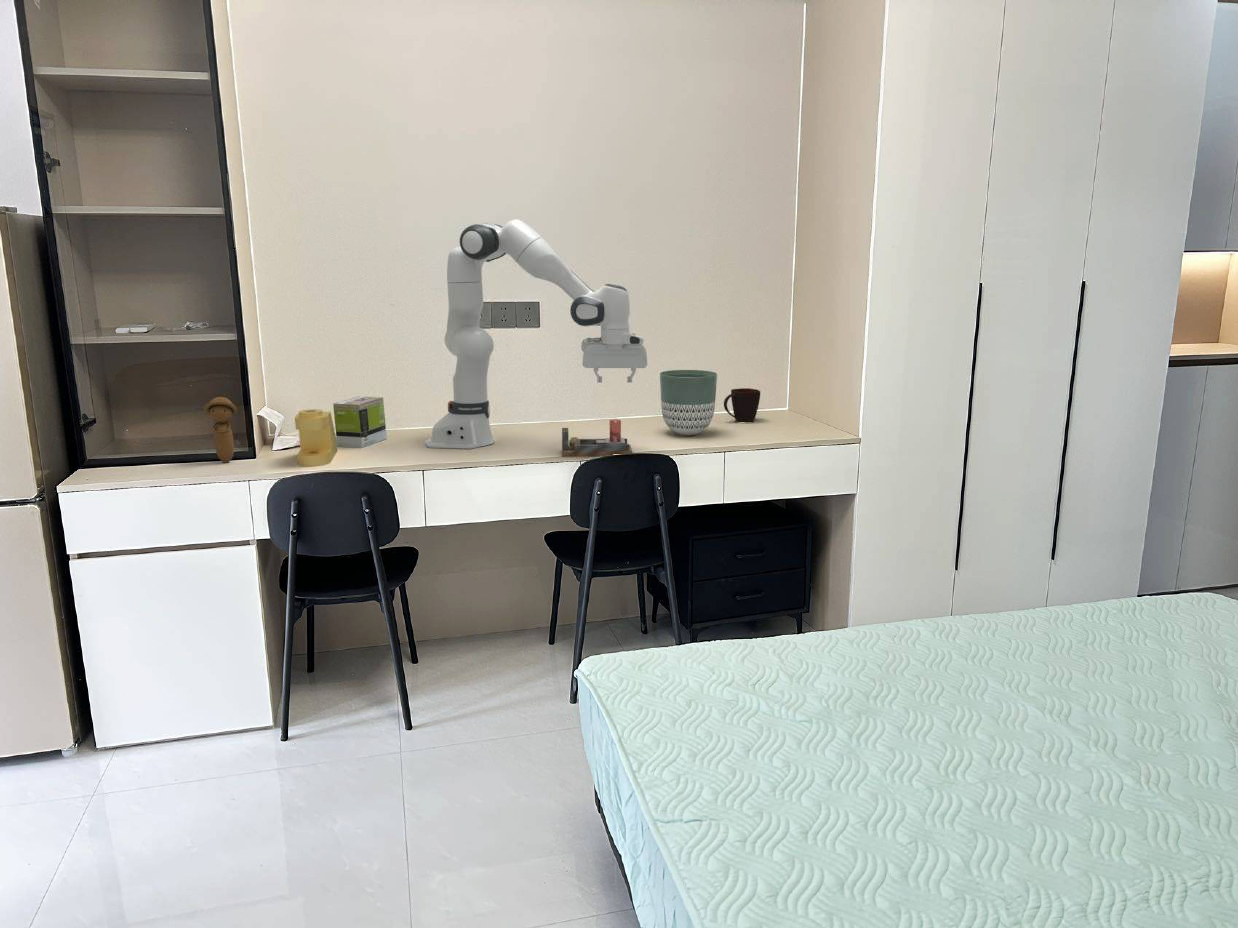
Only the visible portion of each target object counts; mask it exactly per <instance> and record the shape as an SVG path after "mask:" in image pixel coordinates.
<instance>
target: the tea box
mask: <svg viewBox="0 0 1238 928" xmlns="http://www.w3.org/2000/svg"><path fill="white" fill-rule="evenodd" d="M384 403H385V402H384V397H382V396H381V397H379V396H378V397H377V396H356V397H352V398H348V399H344V400H342V401H337V402H335V403H333V405H332V406H333V407H332V408H333V416H334V417H333V419H334V425H335V426H334V430H335V436H336V441H337V447H343V448H345V447H346V448H358V449H362V448H365V447H368V446H371V445H373V444H374V445H375V444H376V443H379V442H381V441H383V440H387V427H386V426H387V425H386V415H385V404H384Z"/></svg>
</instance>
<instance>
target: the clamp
mask: <svg viewBox="0 0 1238 928" xmlns="http://www.w3.org/2000/svg"><path fill="white" fill-rule="evenodd" d="M294 424H295V425H294V427H295V430H298V433H299V434H298V436H299V449H300V450H299V451H298V452H297V459H298V461H297V462H298V465H299V466H300V467H313V468H315V467H322V466H326V465H329V464H331V462H332V461H333V460H334V457H335V456H336V454H337V453H338V446H337V440H336V430H335V426H334V423H333V418H332V412H331V411H330V410H329V411H323V409H317V408H316V409H315V408H313V409H312V408H311V409H302V410H299V411H298V413H297V414H296V415H295V416H294Z"/></svg>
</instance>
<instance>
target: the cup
mask: <svg viewBox="0 0 1238 928" xmlns="http://www.w3.org/2000/svg"><path fill="white" fill-rule="evenodd" d="M730 399H731V405H732V411H733V414H732V413H731V411H730V410H729V407H728V402H729V400H730ZM760 401H761V390H760V389H756V388H755V389H754V388H750V387H748V388H747V387H746V388H744V387H743V388H732V389H731V390H730V394H728V395H727V396H726V397H725V398H724V400H723V408H724V410H725V411H726V412H727V414H728V415H729V416H731V418H734V419H735V422H737V421H738V422H737V423H739V422H752V423H754V422H753V421H755V420H756V416H757V413H758V410H759V406H760V405H759V404H760Z"/></svg>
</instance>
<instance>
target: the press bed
mask: <svg viewBox="0 0 1238 928" xmlns="http://www.w3.org/2000/svg"><path fill="white" fill-rule="evenodd" d="M569 438H570V437H569V427H562V428H561V454H562V458H563V457H565V458H566V457H569V458H571V457H572V458H574V457H575V458H576V457H607V456H606V455H613V454H633V453H634V452H633V448H632V446H631V444H630V443H628V438H624V437H623V438H624V440H625V444H603V445H596V440H605V438H578V439H579V440H580V445H575V446H570V445H569V441H570V439H569Z"/></svg>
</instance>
